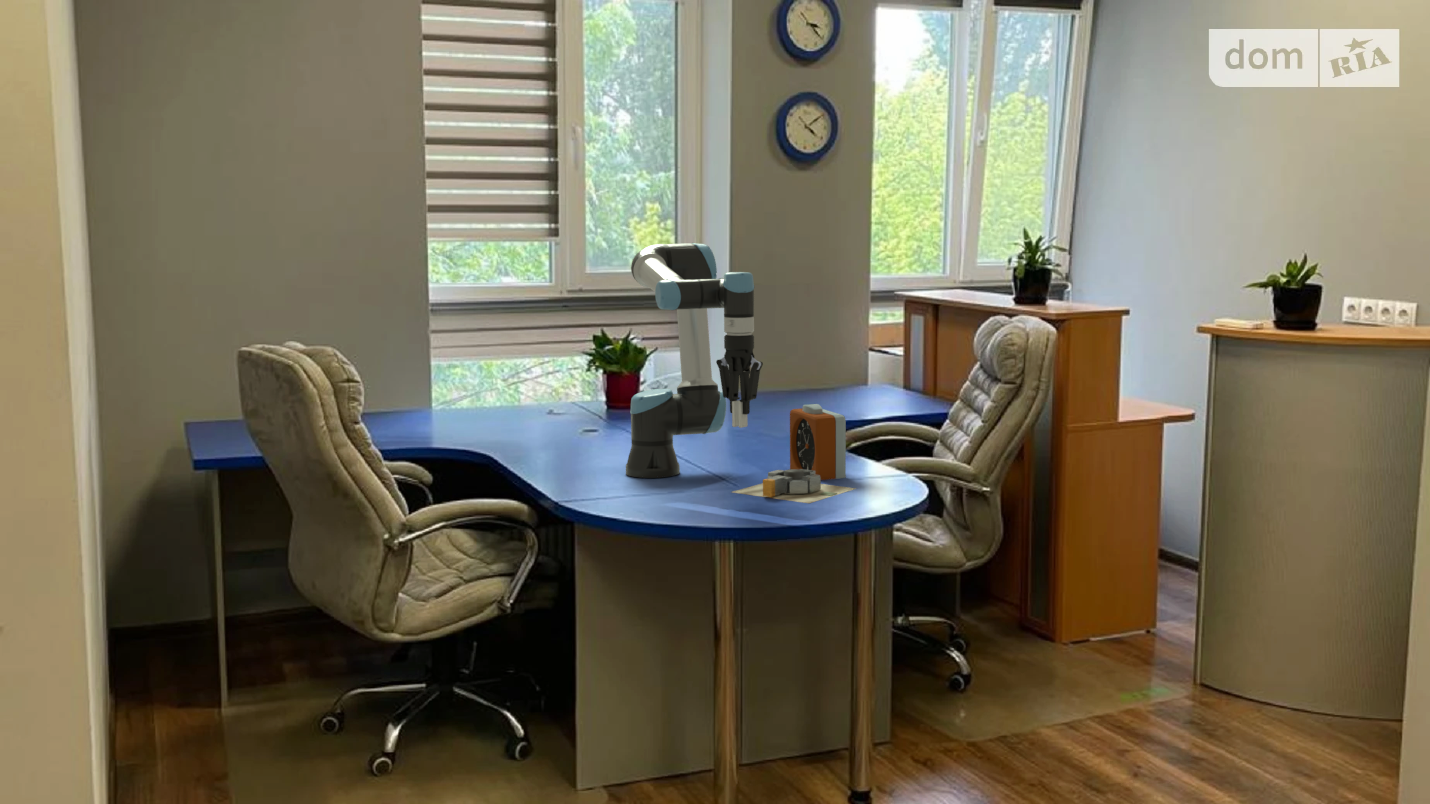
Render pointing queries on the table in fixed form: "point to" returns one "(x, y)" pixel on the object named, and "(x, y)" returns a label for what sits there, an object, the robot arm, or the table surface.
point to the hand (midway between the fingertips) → (739, 426)
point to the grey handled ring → (790, 483)
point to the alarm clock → (818, 441)
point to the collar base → (799, 497)
